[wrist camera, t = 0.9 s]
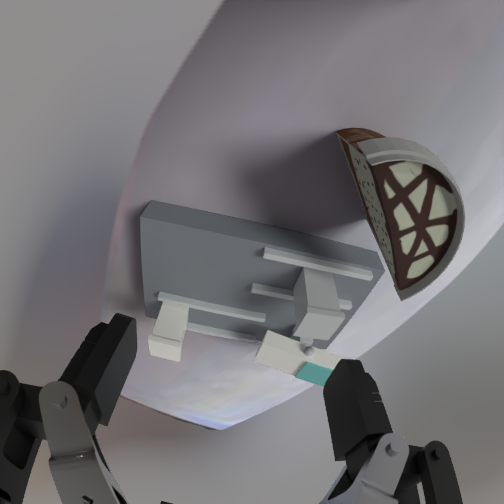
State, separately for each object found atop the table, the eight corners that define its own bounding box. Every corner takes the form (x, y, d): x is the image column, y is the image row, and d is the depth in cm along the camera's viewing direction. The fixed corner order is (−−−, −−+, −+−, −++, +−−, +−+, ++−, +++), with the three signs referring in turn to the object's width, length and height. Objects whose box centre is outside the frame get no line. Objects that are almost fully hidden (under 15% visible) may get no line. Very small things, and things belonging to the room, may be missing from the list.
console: (151, 200, 25) (129, 232, 21) (376, 252, 28) (392, 288, 23) (152, 298, 35) (140, 332, 30) (323, 331, 37) (327, 365, 33)
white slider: (162, 298, 29) (147, 339, 25) (191, 305, 30) (180, 347, 25) (162, 316, 32) (150, 354, 27) (189, 322, 32) (179, 362, 28)
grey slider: (302, 264, 25) (307, 312, 21) (335, 271, 26) (345, 318, 21) (290, 289, 27) (293, 335, 23) (321, 295, 28) (328, 340, 23)
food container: (420, 210, 24) (467, 277, 16) (369, 230, 26) (401, 305, 18) (392, 94, 17) (463, 123, 10) (328, 115, 19) (368, 154, 12)
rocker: (269, 326, 29) (263, 343, 27) (350, 356, 28) (349, 372, 26) (257, 350, 32) (251, 364, 30) (330, 375, 31) (328, 391, 29)
